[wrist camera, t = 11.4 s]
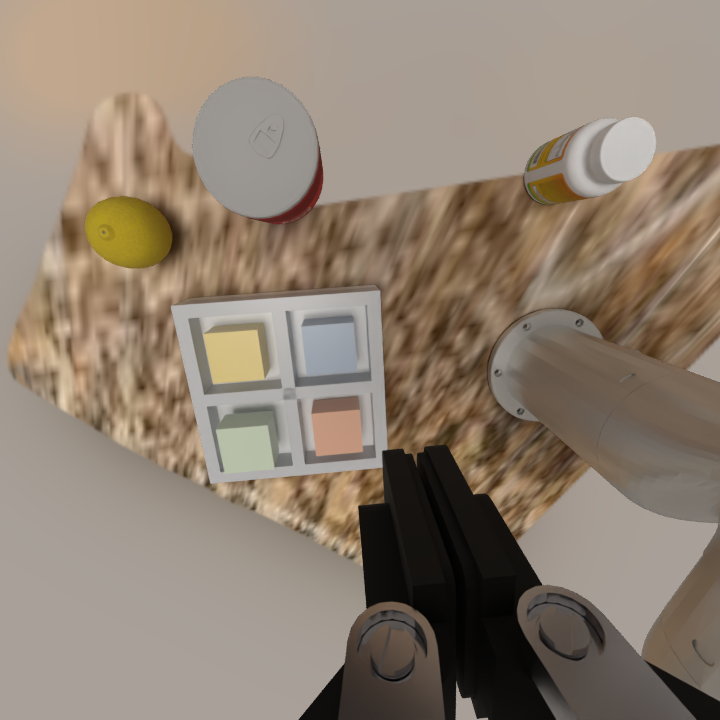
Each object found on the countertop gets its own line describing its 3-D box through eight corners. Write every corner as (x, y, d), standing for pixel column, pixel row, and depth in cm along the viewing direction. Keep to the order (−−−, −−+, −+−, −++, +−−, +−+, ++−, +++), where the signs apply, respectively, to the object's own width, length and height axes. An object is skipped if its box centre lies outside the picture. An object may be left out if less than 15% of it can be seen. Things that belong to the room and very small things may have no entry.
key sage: (273, 410, 36) (267, 425, 33) (279, 451, 37) (274, 469, 35) (225, 414, 36) (215, 429, 33) (233, 455, 37) (224, 473, 34)
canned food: (336, 151, 33) (337, 110, 22) (305, 238, 35) (293, 238, 25) (252, 111, 32) (211, 47, 21) (225, 204, 34) (176, 188, 23)
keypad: (374, 284, 37) (380, 290, 32) (382, 444, 42) (388, 467, 38) (190, 297, 36) (170, 305, 32) (223, 458, 42) (210, 483, 37)
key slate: (352, 315, 35) (353, 322, 32) (355, 361, 37) (357, 371, 34) (303, 319, 35) (301, 326, 32) (309, 365, 36) (306, 375, 34)
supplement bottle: (578, 199, 36) (663, 186, 26) (523, 209, 35) (589, 198, 26) (579, 136, 34) (671, 97, 25) (521, 146, 34) (591, 111, 25)
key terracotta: (358, 396, 38) (360, 409, 35) (361, 436, 39) (362, 452, 36) (312, 400, 38) (311, 413, 35) (317, 440, 39) (316, 456, 36)
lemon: (189, 265, 35) (149, 272, 27) (128, 264, 35) (70, 271, 27) (182, 202, 33) (137, 191, 26) (118, 200, 33) (53, 188, 25)
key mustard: (263, 322, 35) (257, 329, 32) (270, 368, 36) (264, 379, 33) (214, 326, 35) (203, 333, 32) (222, 372, 36) (213, 383, 33)
